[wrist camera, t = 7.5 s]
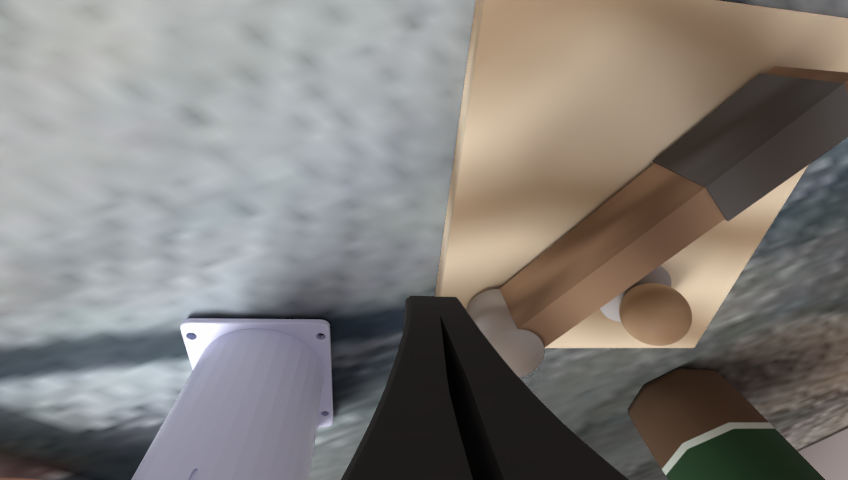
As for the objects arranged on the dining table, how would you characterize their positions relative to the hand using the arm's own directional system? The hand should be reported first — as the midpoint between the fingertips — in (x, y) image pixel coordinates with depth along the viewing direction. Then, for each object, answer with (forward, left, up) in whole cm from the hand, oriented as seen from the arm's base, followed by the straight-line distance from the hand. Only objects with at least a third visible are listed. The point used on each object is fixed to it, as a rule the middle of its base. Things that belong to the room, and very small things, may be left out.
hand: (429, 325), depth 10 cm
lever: (0, -10, -8) cm, 12 cm away
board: (0, -10, -9) cm, 14 cm away
